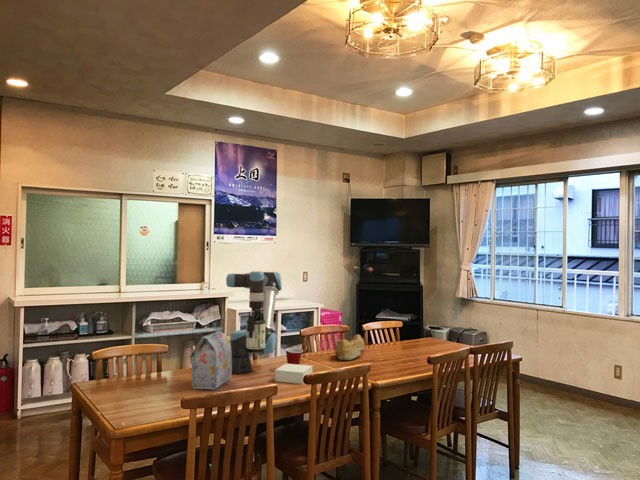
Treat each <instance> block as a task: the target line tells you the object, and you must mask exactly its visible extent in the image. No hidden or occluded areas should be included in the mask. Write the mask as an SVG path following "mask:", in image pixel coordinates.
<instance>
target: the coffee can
mask: <svg viewBox="0 0 640 480" xmlns="http://www.w3.org/2000/svg"><path fill="white" fill-rule="evenodd" d="M245 322H246V326H247V325H248V320H246V321H245ZM265 323H266V321H265V320H256V322H253V324H254V331H253V332H254V344H249V332H248V331H247V328H246V329H245V330H246V348H248V349H263V348H265Z"/></svg>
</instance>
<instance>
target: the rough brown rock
mask: <svg viewBox="0 0 640 480" xmlns="http://www.w3.org/2000/svg"><path fill="white" fill-rule="evenodd" d="M364 340H365V339H364V338H363V337H362V336H361V334H358V333H357V334H356V335H354V336H352V337H351V338H350V339H349V340H347V339H345V338H343V339H339V340H337V341H336V344H335V348H334V353H335V357H336V358H337V360H339V361H351V360H354V359H356V358H359V357H361V355H362V352H364V350H366V344H365V341H364Z"/></svg>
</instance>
